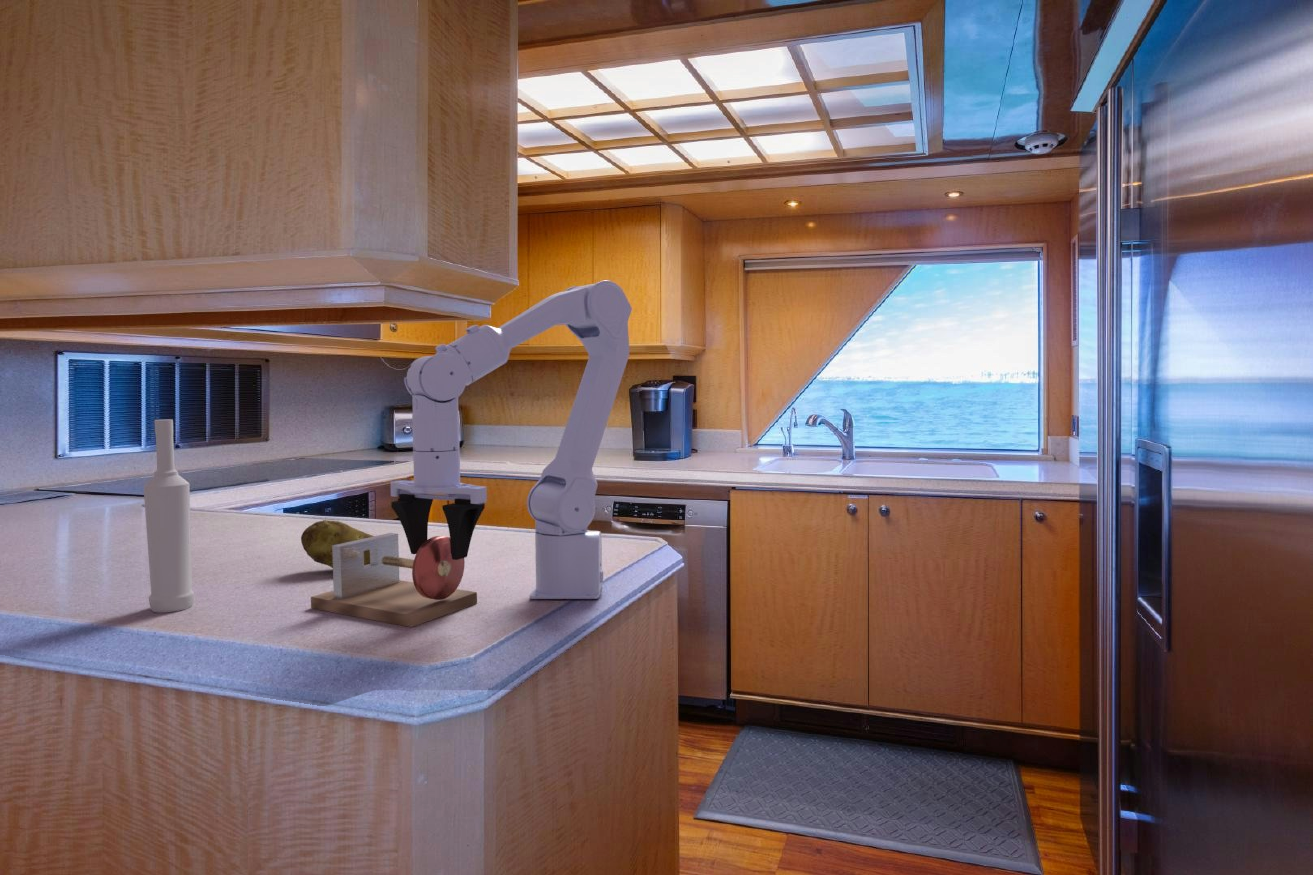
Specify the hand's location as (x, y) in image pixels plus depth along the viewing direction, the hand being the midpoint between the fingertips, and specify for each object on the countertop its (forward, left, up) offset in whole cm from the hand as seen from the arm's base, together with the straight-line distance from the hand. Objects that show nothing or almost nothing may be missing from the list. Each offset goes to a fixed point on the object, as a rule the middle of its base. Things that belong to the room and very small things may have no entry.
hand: (438, 555), depth 103 cm
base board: (+7, -4, -8) cm, 11 cm away
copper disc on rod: (+4, -2, -6) cm, 7 cm away
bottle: (+36, -3, -8) cm, 37 cm away
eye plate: (+12, -6, -6) cm, 14 cm away
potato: (+21, -24, -8) cm, 33 cm away
